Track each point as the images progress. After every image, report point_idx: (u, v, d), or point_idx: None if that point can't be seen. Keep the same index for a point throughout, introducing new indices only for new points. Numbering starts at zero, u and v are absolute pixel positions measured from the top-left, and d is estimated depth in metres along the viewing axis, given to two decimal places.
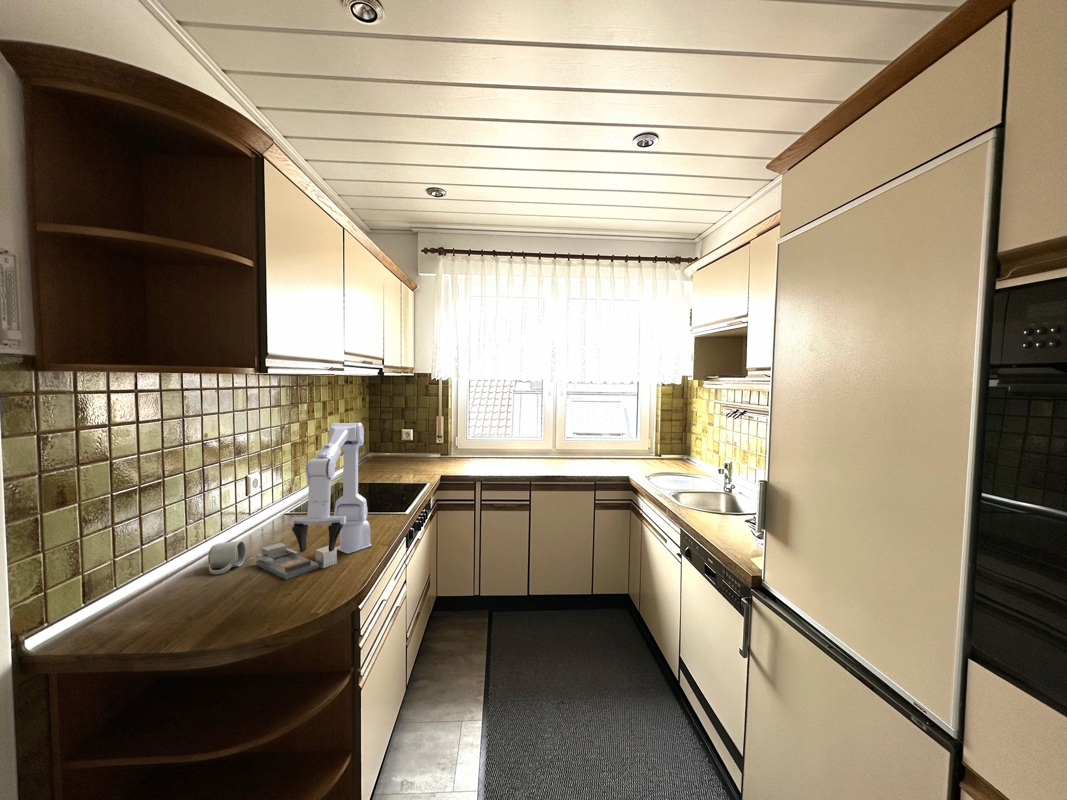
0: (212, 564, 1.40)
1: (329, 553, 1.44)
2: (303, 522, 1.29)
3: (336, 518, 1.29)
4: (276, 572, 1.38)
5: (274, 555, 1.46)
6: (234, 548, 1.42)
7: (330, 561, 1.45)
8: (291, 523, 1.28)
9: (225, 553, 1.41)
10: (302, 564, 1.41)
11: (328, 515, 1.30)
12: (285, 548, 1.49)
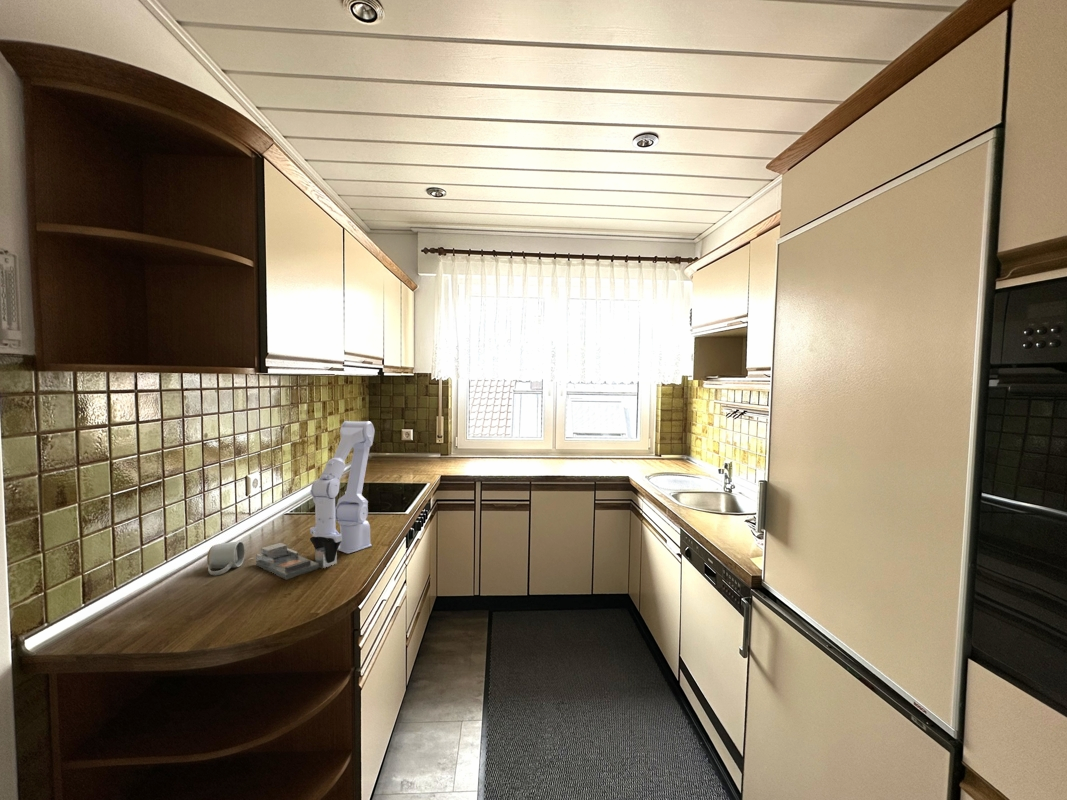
0: (211, 565, 1.40)
1: None
2: None
3: (331, 536, 1.41)
4: (276, 572, 1.38)
5: (274, 555, 1.46)
6: (233, 549, 1.42)
7: None
8: (310, 532, 1.49)
9: (224, 554, 1.41)
10: (302, 564, 1.41)
11: (329, 531, 1.44)
12: (285, 548, 1.49)
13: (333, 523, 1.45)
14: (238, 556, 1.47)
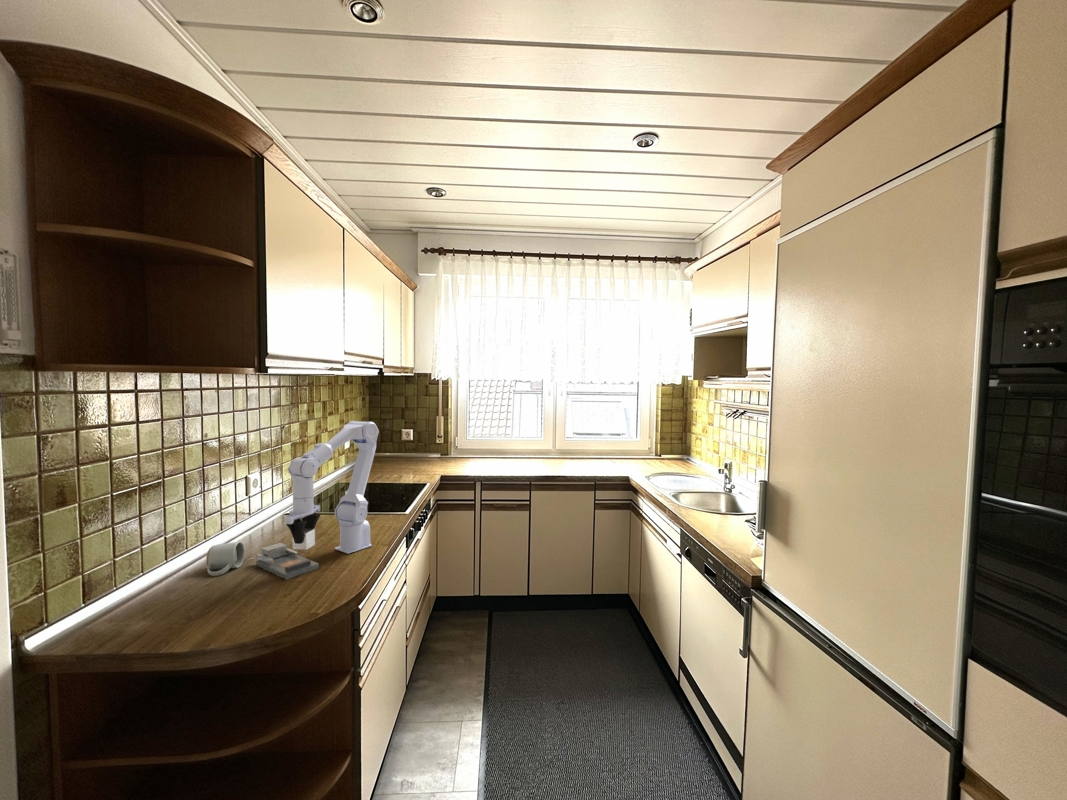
0: (210, 565, 1.40)
1: None
2: None
3: None
4: (276, 572, 1.38)
5: (274, 555, 1.46)
6: (233, 549, 1.41)
7: None
8: None
9: (223, 554, 1.40)
10: (302, 564, 1.41)
11: (296, 511, 1.40)
12: (285, 548, 1.49)
13: (301, 504, 1.40)
14: (237, 556, 1.47)
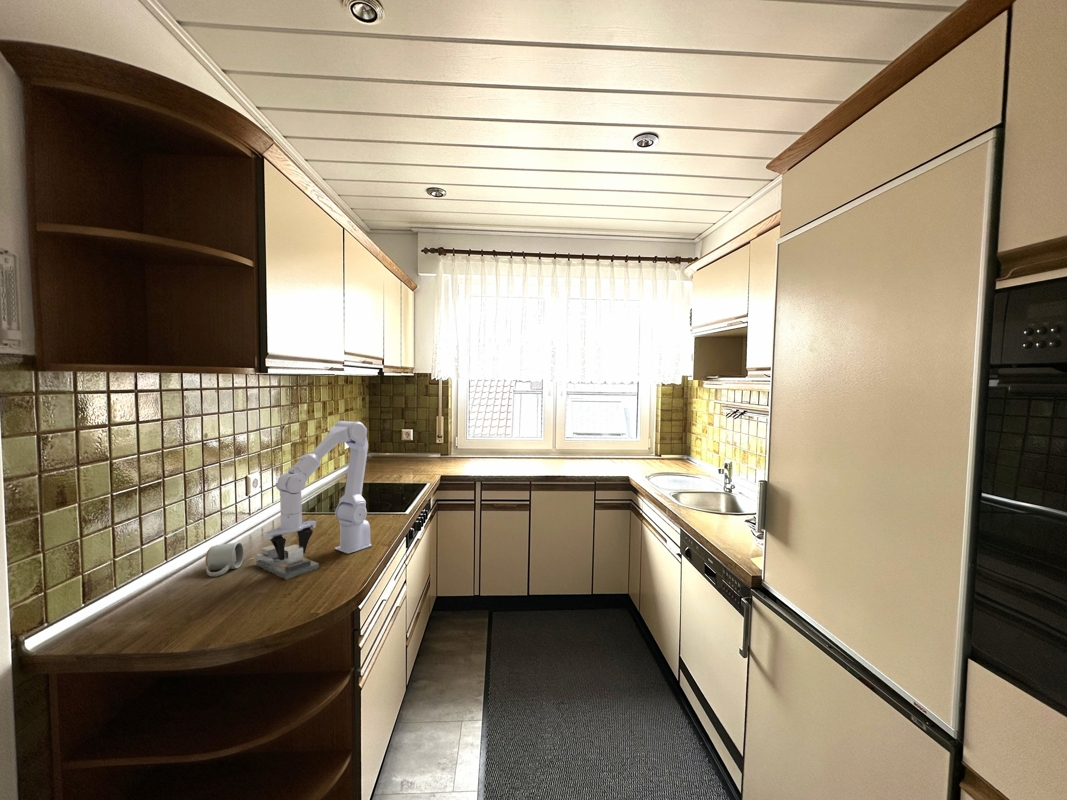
0: (209, 566, 1.39)
1: (284, 552, 1.40)
2: None
3: None
4: (276, 572, 1.38)
5: (274, 555, 1.46)
6: (232, 550, 1.41)
7: (284, 560, 1.40)
8: None
9: (223, 555, 1.40)
10: (302, 564, 1.41)
11: (281, 527, 1.40)
12: None
13: (284, 520, 1.39)
14: (237, 557, 1.46)
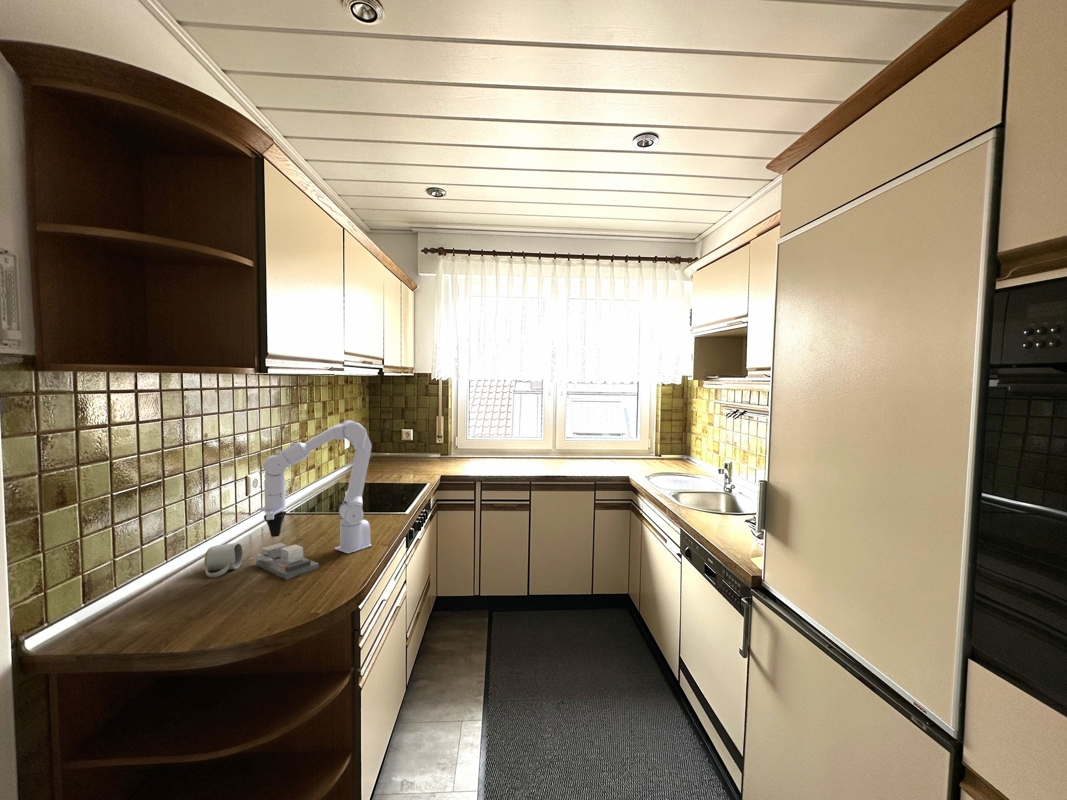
0: (208, 567, 1.39)
1: (284, 552, 1.40)
2: None
3: (266, 513, 1.42)
4: (276, 572, 1.38)
5: (274, 555, 1.46)
6: (231, 550, 1.40)
7: (284, 560, 1.40)
8: None
9: (222, 555, 1.39)
10: (302, 564, 1.41)
11: (272, 508, 1.44)
12: None
13: (276, 500, 1.45)
14: (236, 558, 1.46)
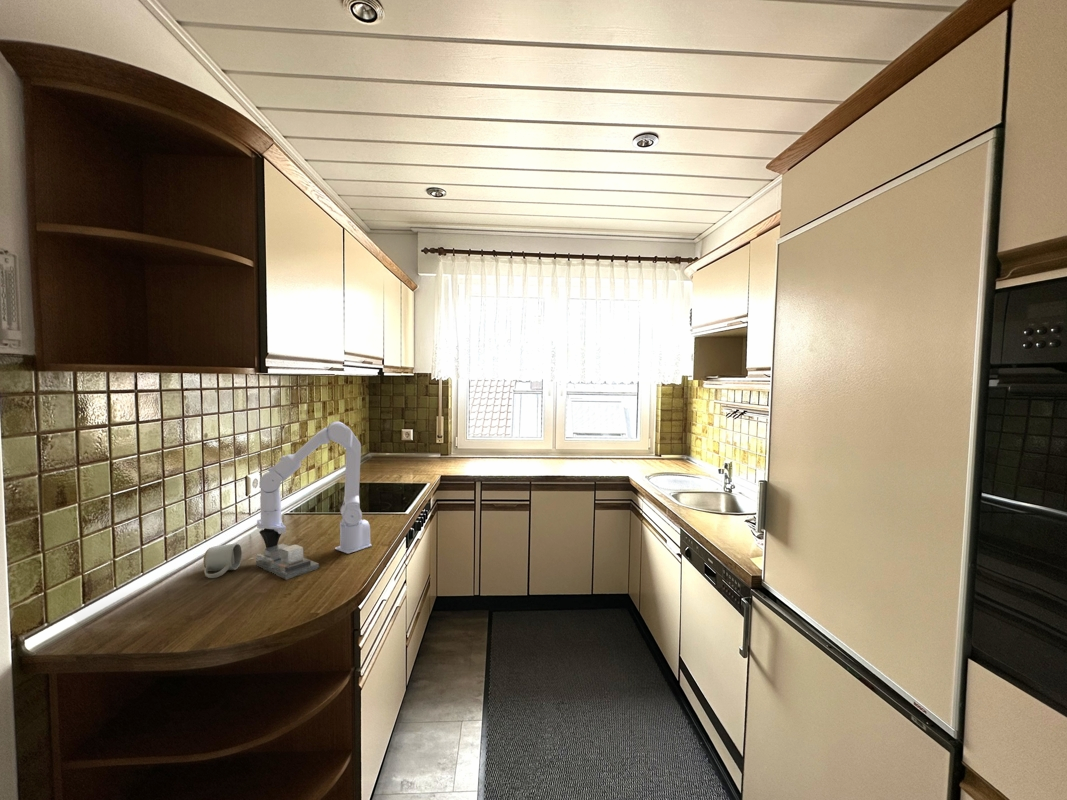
0: (207, 567, 1.38)
1: (284, 552, 1.40)
2: None
3: (275, 527, 1.45)
4: (276, 572, 1.38)
5: (277, 556, 1.46)
6: (230, 551, 1.40)
7: (284, 560, 1.40)
8: (257, 524, 1.52)
9: (221, 556, 1.39)
10: (302, 564, 1.41)
11: (274, 523, 1.47)
12: None
13: (278, 515, 1.48)
14: (235, 558, 1.45)
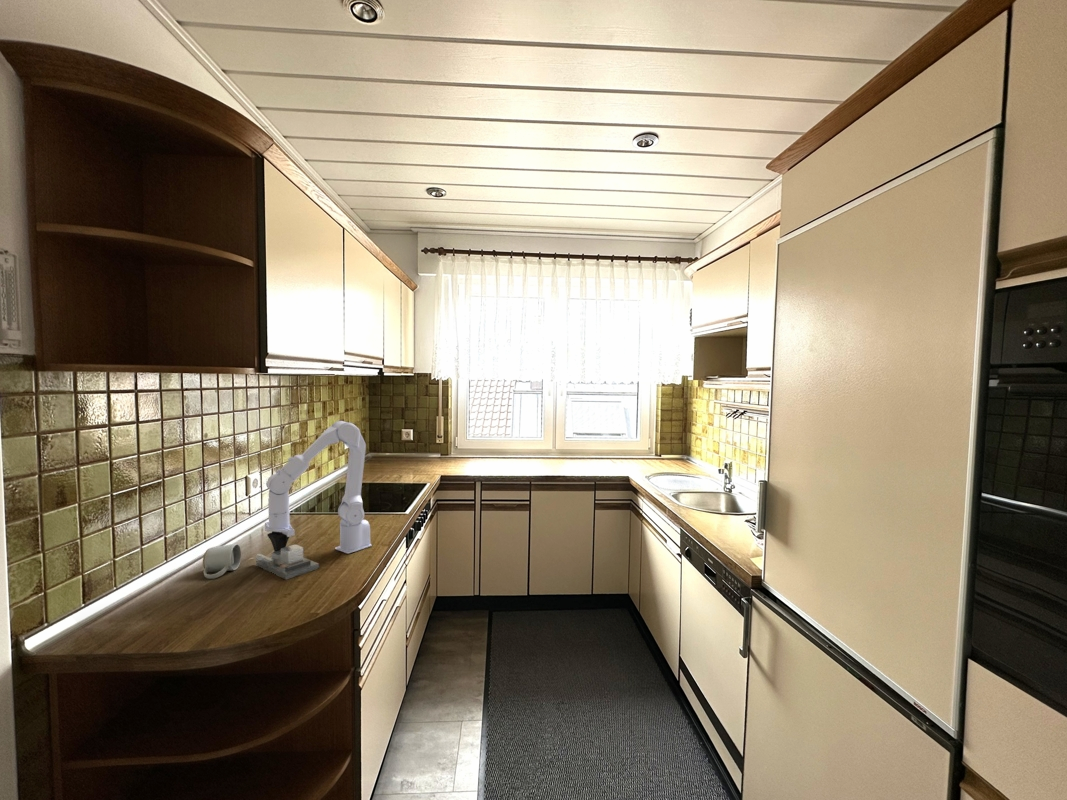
0: (207, 568, 1.38)
1: (284, 552, 1.40)
2: None
3: (283, 530, 1.42)
4: (276, 572, 1.38)
5: None
6: (229, 552, 1.39)
7: (284, 560, 1.40)
8: (265, 527, 1.49)
9: (220, 557, 1.38)
10: (302, 564, 1.41)
11: (282, 526, 1.44)
12: None
13: (286, 518, 1.45)
14: (234, 559, 1.45)
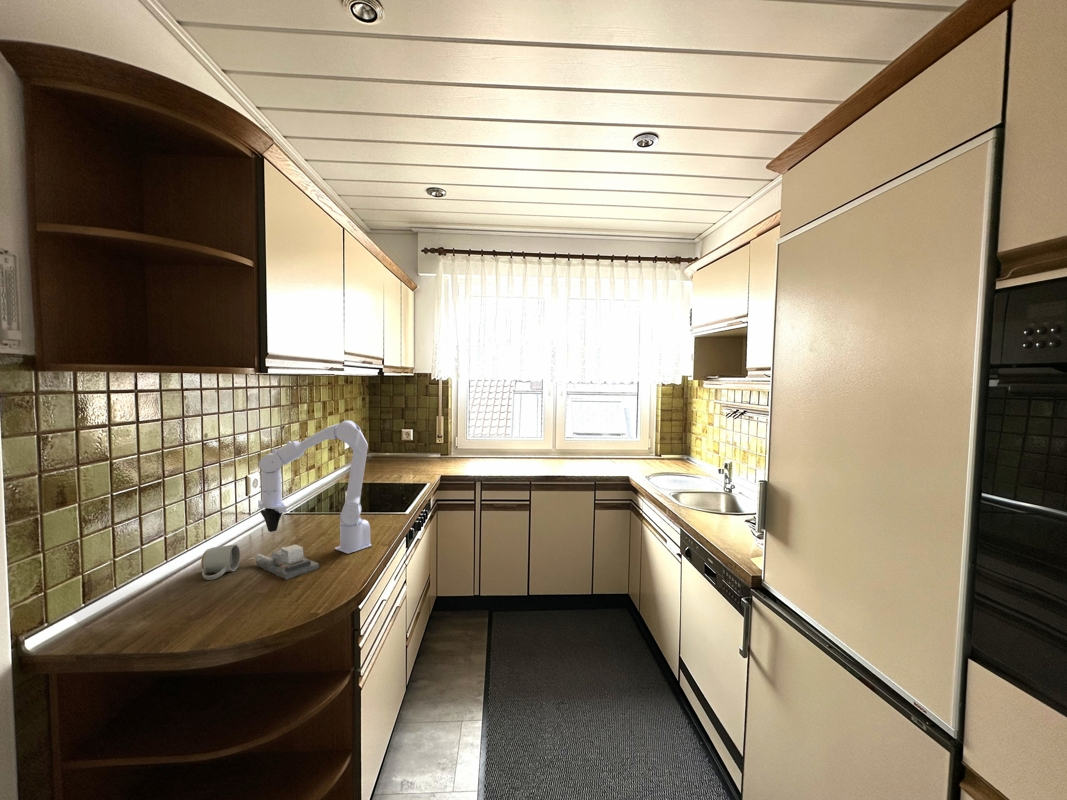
0: (205, 569, 1.37)
1: (284, 552, 1.40)
2: None
3: (276, 507, 1.48)
4: (276, 572, 1.38)
5: None
6: (228, 552, 1.38)
7: (284, 560, 1.40)
8: (258, 504, 1.55)
9: (219, 558, 1.38)
10: (302, 564, 1.41)
11: (275, 503, 1.50)
12: None
13: (279, 495, 1.52)
14: (233, 560, 1.44)
